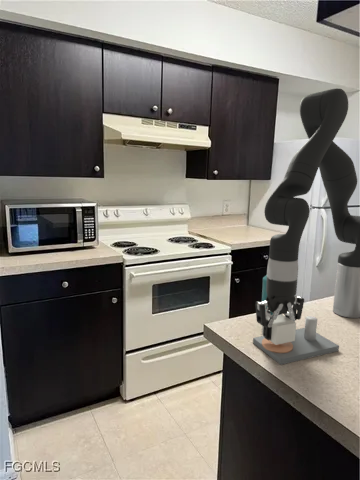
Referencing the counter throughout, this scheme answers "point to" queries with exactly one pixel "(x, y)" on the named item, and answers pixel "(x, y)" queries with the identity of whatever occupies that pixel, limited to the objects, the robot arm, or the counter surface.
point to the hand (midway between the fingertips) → (277, 336)
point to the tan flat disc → (277, 346)
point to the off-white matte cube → (282, 330)
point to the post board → (302, 344)
